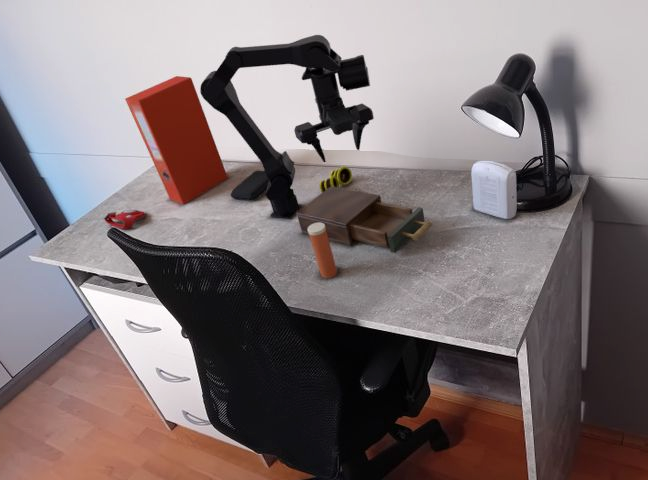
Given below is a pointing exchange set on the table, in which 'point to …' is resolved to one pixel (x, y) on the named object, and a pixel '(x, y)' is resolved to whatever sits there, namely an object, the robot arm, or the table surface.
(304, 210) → the organiser
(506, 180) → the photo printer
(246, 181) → the carrying case
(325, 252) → the tube
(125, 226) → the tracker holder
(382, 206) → the drawer
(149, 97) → the file binder
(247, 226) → the table surface
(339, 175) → the opera glasses
